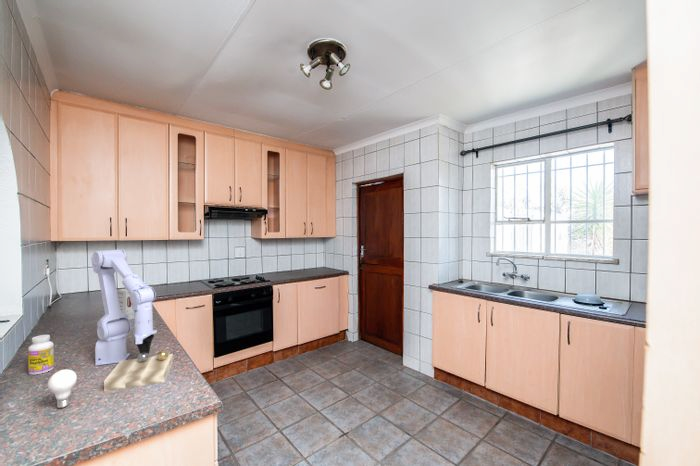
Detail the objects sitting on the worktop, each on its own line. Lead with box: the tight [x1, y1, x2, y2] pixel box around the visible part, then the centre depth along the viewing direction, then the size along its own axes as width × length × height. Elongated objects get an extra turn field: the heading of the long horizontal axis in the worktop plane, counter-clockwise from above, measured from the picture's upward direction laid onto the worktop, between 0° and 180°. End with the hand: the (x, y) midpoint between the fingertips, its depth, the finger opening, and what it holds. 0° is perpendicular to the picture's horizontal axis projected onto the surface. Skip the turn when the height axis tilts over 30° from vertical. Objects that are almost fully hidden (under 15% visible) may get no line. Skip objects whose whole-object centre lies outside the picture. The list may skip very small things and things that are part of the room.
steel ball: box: [137, 352, 150, 362], centre depth 114 cm, size 4×4×4 cm
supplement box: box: [117, 287, 134, 321], centre depth 178 cm, size 10×9×17 cm
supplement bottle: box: [27, 334, 55, 376], centre depth 113 cm, size 7×7×13 cm
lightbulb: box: [47, 368, 78, 409], centre depth 91 cm, size 6×6×11 cm
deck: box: [103, 353, 174, 392], centre depth 110 cm, size 17×16×4 cm
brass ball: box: [156, 349, 169, 360], centre depth 115 cm, size 4×4×4 cm
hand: (144, 356), depth 115 cm, fingers closed, pressing on steel ball
